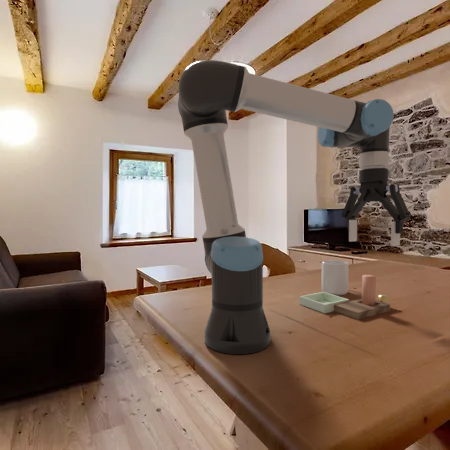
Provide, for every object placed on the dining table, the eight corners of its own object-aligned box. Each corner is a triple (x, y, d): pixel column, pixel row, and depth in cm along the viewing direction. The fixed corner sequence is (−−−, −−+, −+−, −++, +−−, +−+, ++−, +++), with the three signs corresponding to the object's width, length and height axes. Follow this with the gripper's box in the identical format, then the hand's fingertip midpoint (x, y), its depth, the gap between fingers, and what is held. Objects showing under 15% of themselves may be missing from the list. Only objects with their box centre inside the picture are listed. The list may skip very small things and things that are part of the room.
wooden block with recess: (357, 323, 86) (357, 312, 86) (333, 315, 93) (334, 304, 93) (389, 314, 93) (390, 304, 93) (365, 307, 100) (365, 297, 100)
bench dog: (384, 310, 94) (385, 297, 94) (375, 308, 97) (375, 295, 97) (391, 309, 96) (391, 296, 96) (381, 306, 99) (382, 293, 98)
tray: (324, 315, 91) (324, 304, 91) (299, 305, 100) (299, 296, 100) (348, 309, 96) (349, 299, 96) (322, 300, 105) (323, 291, 105)
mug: (342, 298, 108) (343, 265, 107) (317, 294, 113) (317, 262, 113) (354, 291, 117) (354, 260, 116) (330, 287, 122) (330, 258, 122)
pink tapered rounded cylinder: (369, 312, 92) (370, 277, 91) (358, 309, 95) (359, 275, 94) (377, 310, 93) (378, 276, 93) (366, 307, 96) (367, 274, 96)
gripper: (426, 164, 82) (425, 246, 83) (346, 173, 104) (346, 238, 105) (409, 162, 79) (408, 249, 80) (330, 172, 100) (329, 240, 101)
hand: (372, 243), depth 92 cm, fingers open, 13 cm apart
